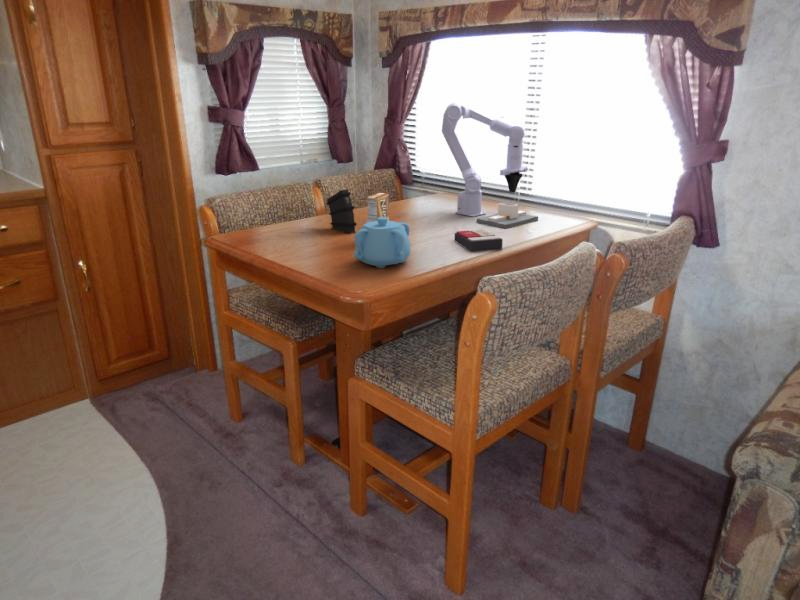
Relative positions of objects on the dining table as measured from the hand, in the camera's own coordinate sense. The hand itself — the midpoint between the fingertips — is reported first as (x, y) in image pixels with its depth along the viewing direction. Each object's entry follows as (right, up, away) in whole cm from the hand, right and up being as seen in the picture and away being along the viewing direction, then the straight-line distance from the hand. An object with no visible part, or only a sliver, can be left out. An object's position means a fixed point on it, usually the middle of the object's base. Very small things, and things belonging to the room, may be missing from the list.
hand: (512, 191), depth 226 cm
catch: (-3, -11, -8) cm, 14 cm away
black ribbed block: (-66, -18, -18) cm, 71 cm away
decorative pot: (-50, -32, -56) cm, 82 cm away
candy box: (-52, -23, -32) cm, 65 cm away
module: (-3, -11, -8) cm, 14 cm away
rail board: (-3, -13, -7) cm, 15 cm away
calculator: (-19, -25, -38) cm, 49 cm away
